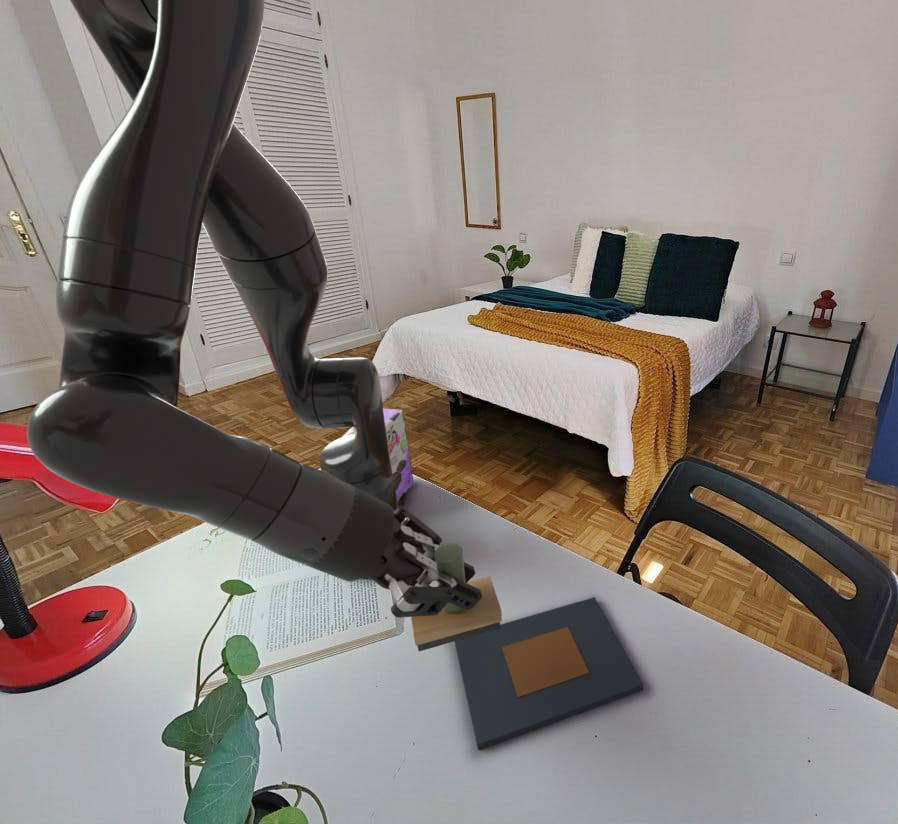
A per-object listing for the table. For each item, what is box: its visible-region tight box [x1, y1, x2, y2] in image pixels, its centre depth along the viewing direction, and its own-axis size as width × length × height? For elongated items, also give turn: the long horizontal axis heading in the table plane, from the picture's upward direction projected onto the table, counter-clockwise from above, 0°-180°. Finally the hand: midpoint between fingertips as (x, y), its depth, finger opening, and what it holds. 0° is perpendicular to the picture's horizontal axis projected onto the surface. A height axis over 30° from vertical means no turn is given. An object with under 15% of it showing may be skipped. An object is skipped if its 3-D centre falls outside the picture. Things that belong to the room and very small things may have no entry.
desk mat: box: [454, 596, 645, 750], centre depth 61 cm, size 14×20×1 cm
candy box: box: [339, 407, 415, 502], centre depth 87 cm, size 14×6×16 cm, turn 168°
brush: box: [410, 543, 503, 652], centre depth 51 cm, size 5×9×10 cm, turn 109°
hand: (472, 587), depth 52 cm, fingers closed on brush, 3 cm apart
